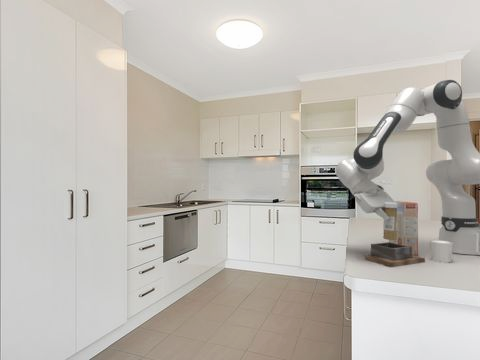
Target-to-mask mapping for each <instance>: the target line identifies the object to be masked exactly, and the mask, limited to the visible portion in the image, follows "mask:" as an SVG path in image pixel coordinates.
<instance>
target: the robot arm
mask: <svg viewBox="0 0 480 360" xmlns="http://www.w3.org/2000/svg"><path fill="white" fill-rule="evenodd" d="M462 97H463V89H462V86H461V85H460V84H459V83H458V81H456V80H453V79H447V80H441V81H439V82H437V83H434V84H431V85H428V86H426V87H425V88H423V89H420V88H418V87H414V86H413V87H411V86H410V87H406V88H404V89H403V90H401V91H400V92H399V94H398V95H397V96H395V98H394V99H393V101H392V102H391V103H390V105H389V107H388V108H387V110H386V111H385V113H384V115H383V116H382V117H381V119H380V120H379V121H378V123H377V124H376V126H375V127H374V129H373V130H372V131H371V132H370V133H369V135H368V137H367V138H366V139H364V140H363V141H362V142H360V144H358V145H357V146H356V147H355V149H354V150H353V155H352V156H353V158H350V159H349V158H347V159H346V158H345V159H342V160H340V162H339V163H338V164H337V166H336V168H335V175H336V177H337V178H338V180H339V181H340V182H341V183H342V184H343V186H344V187H346V188H347V189H348V190H350V191H349V192H350V193H351V194H352V195H353V197H354V198H355V199H354V200H355V202H356V204H357V205H358V206H359V207H360V209H361V210H362V211H363V212H364V213H366V214H373V213H375V214H376V215H377V216H379V217H380V218H382V219H383V221H384V220H385V221H387V220H389V219H390V216H389V215H388V214H386V213H384V203H386V202H389V203H395V200H394V199H393V198H392V197H391V195H389V193H387V192H386V191H385V188H384V187H383V186H382V185H379V184H377V183H375V182H373V181H372V180H374V179H376V178H378V177H379V176H381V175H382V174H383V172H384V169H385V162H384V157H383V155H384V153H383V151H384V146H385V144H386V143H387V141H388V140H389V138H390V137H391V135H392V134H393V133H401V132H405V131H407V130H408V129H409V128H410V127H411V126H412V125H413V123H414V121H415V120H416V118H417V117H421V116H425V115H429V114H434V116H435V118H436V120H435V121H436V122H435V123H436V134H437V143H438V146H439V147H440V148H441V149H442V150H443V151H446V152H447V153H449V155H450V157H451V159H445V160H444V159H442V160H439V161H434V162H431V163H430V164H428V166H427V167H426V169H425V170H426V171H425V176H426V178H427V180H428V181H429V182H430V183H431V184H432V185H434V187H436V190H437V191H438V193H439V196H440V198H441V199H440V200H441V210H442V216H441V219H440V222H441V225H442V226H441V227H440V228H439V229H438V239H437V240H442V241H448V242H452V243H453V245H452V254H460V255H474V256H480V218H477V217H476V215H477V213H476V211H477V210H476V208H477V207H476V199H475V198H474V197H473V196H472V195H471V194H468V193H466V191H465V190H464V188H463V185H480V151H478V149H477V148H476V147H475V145H474V142H473V139H472V132H471V125H470V119H469V115H468V111H467V107H466V105H465V103H464V102H463V101H462ZM397 217H398V216H397Z"/></svg>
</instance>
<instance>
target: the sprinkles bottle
mask: <svg viewBox="0 0 480 360" xmlns="http://www.w3.org/2000/svg"><path fill="white" fill-rule="evenodd" d="M397 208H398V204H397V203H389V202H386V203H384V213H386V214H388V215H389V216H390V219H389V220H387V221H385V220H384V219H383V226H382V227H383V236H382V237H383V239H384V240H388V241H389V240H397Z"/></svg>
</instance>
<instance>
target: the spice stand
mask: <svg viewBox="0 0 480 360" xmlns="http://www.w3.org/2000/svg"><path fill="white" fill-rule="evenodd" d="M364 260H366V261H369V262H371V263H372V262H373V263H375V264H379V265H381V266H386V267H389V268H395V267H401V266H408V265H409V266H410V265H414V264H420V263H422V264H423V263H425V262H426V261H425V260H426V259H425V257H423V256H419V255H412V247H409V246H404V245H400V244H395V243H390V242H389V241H388V242H379V243H371V244H370V254H365V255H364Z"/></svg>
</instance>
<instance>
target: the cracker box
mask: <svg viewBox="0 0 480 360" xmlns="http://www.w3.org/2000/svg"><path fill="white" fill-rule="evenodd" d="M394 201H395V200H394ZM395 203H397V204H398V208H397V216H398V217H397V240H388V242H390V243H395V244H400V245H404V246H409V247H412V255H415V256H419V203H418V202H411V201H410V202H409V201H401V200H400V201H399V200H398V201H397V200H396V201H395Z"/></svg>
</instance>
